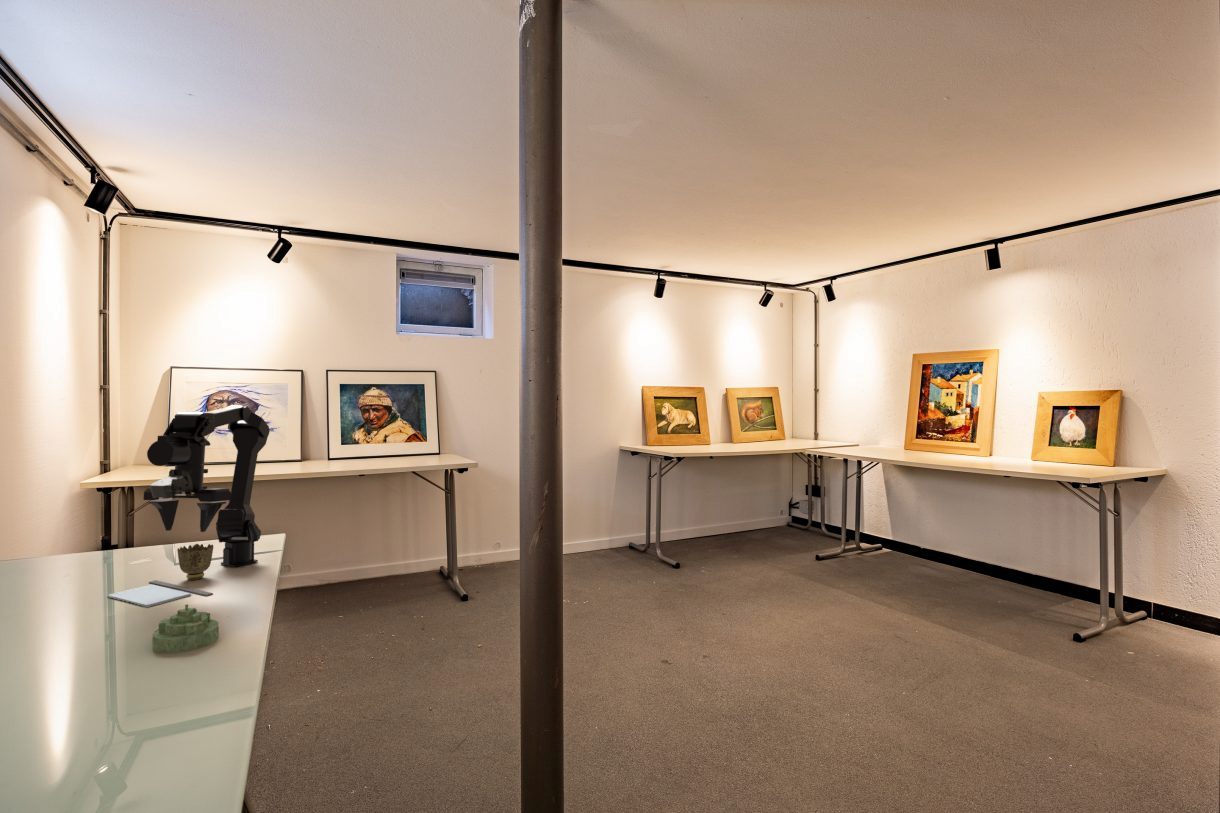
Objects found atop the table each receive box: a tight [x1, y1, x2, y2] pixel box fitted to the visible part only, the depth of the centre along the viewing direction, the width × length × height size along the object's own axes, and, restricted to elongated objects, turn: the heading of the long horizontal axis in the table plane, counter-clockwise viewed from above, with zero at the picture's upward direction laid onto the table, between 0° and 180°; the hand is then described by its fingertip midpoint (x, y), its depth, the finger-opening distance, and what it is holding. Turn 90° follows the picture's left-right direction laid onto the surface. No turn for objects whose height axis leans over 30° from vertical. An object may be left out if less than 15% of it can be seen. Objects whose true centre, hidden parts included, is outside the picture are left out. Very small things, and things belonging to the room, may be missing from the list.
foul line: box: [148, 579, 214, 597], centre depth 142 cm, size 2×22×1 cm, turn 66°
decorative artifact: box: [151, 603, 220, 654], centre depth 111 cm, size 10×7×10 cm
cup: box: [177, 543, 214, 581], centre depth 150 cm, size 8×7×8 cm
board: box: [106, 583, 192, 608], centre depth 136 cm, size 9×15×1 cm, turn 66°
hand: (185, 531), depth 143 cm, fingers open, 9 cm apart
